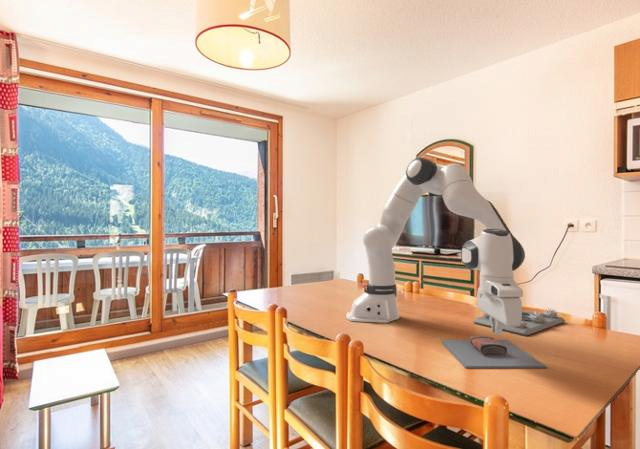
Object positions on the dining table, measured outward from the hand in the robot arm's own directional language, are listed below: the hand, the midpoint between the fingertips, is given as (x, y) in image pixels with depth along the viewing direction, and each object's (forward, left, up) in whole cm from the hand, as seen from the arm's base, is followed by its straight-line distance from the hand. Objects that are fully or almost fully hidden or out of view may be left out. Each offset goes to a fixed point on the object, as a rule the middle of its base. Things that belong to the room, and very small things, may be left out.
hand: (497, 333), depth 104 cm
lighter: (0, +3, -6) cm, 6 cm away
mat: (0, +6, -8) cm, 10 cm away
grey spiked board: (+26, +39, -9) cm, 48 cm away
